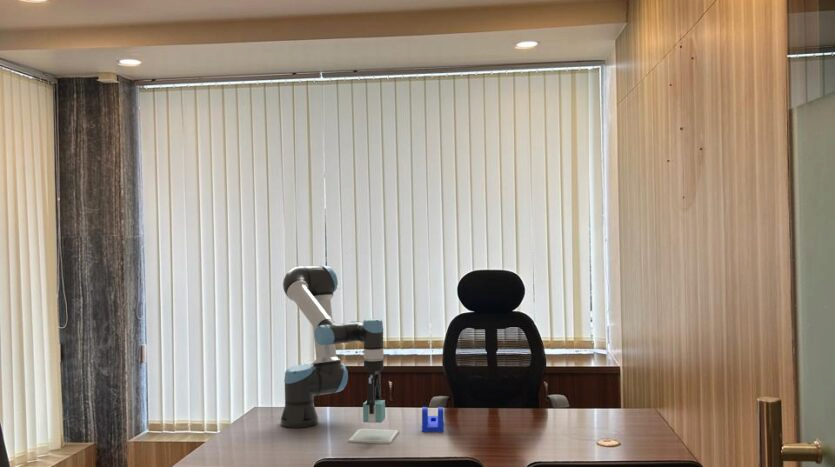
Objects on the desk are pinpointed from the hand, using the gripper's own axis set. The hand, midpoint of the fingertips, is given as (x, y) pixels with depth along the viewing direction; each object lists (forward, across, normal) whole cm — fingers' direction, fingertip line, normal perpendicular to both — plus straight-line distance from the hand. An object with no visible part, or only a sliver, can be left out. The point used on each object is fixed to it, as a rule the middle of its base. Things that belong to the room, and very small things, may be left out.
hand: (374, 419), depth 295 cm
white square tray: (+7, 0, 0) cm, 7 cm away
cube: (0, 0, 0) cm, 0 cm away
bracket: (+7, -20, +20) cm, 29 cm away
